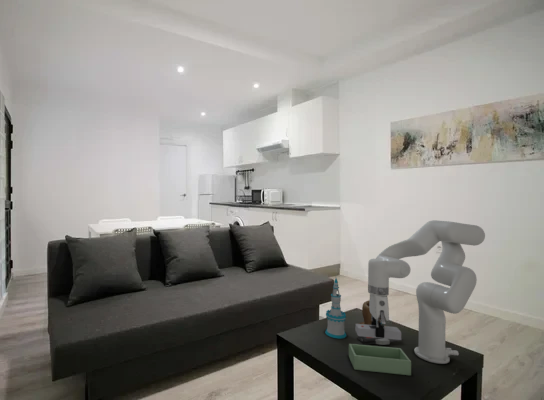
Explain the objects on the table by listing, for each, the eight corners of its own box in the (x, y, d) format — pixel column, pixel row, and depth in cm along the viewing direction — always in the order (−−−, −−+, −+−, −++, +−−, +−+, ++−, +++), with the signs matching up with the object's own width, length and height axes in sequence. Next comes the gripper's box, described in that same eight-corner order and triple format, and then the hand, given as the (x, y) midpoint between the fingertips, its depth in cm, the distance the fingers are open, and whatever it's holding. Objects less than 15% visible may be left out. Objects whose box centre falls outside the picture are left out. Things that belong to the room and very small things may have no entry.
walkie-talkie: (366, 347, 135) (404, 343, 139) (366, 338, 135) (404, 334, 139) (354, 338, 144) (390, 335, 148) (354, 329, 144) (390, 326, 147)
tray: (400, 361, 124) (400, 348, 124) (411, 375, 114) (411, 361, 114) (348, 356, 128) (348, 343, 128) (354, 369, 118) (354, 355, 118)
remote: (396, 334, 122) (396, 326, 122) (401, 340, 117) (401, 331, 117) (355, 331, 125) (355, 323, 125) (358, 336, 120) (358, 327, 120)
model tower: (337, 328, 155) (337, 271, 155) (350, 337, 145) (351, 276, 145) (321, 330, 152) (321, 272, 152) (333, 339, 143) (334, 277, 142)
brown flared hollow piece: (371, 337, 145) (371, 307, 145) (353, 327, 156) (353, 299, 156) (394, 333, 150) (394, 303, 149) (375, 323, 161) (376, 296, 161)
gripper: (396, 297, 112) (395, 345, 112) (381, 284, 128) (380, 326, 129) (374, 295, 113) (374, 343, 113) (362, 283, 130) (362, 324, 130)
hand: (377, 333), depth 121 cm, fingers closed on remote, 4 cm apart
